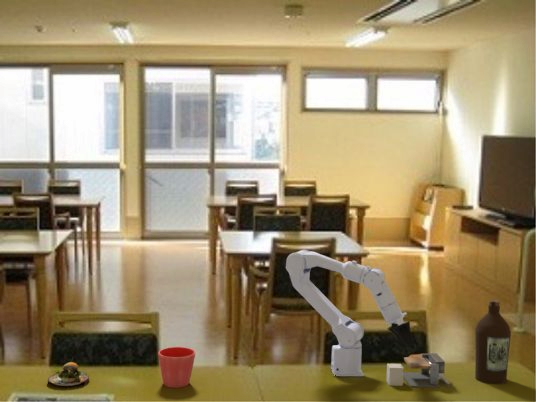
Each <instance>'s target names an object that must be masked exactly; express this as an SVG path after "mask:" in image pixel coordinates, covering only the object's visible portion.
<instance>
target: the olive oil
mask: <svg viewBox="0 0 536 402" xmlns="http://www.w3.org/2000/svg"><path fill="white" fill-rule="evenodd" d="M488 303H489V304H488V306H487V307H488V308H487V309H488V310H487V311H488V312H486V314H485V315H484V316H483V317H482V318H480V320H478V322H477V324H476V326H475V329H474V330H475V333H474V336H475V337H474V339H475V344H474V345H475V347H474V348H475V366H474V367H475V369H474V371H475V379H476V380H477V381H479V382H482V383H484V384H490V385H503V384H505V383H506V382H507V381H508V367H509V358H510V357H509V356H510V346H511V345H510V344H511V336H512V335H511V334H512V331H511V328H510V325H509V323H508V322H507V321H506V320H505V318H504V317H503V316H502V314H501V312H500V308H501V306H500V303H501V302H500V301H499V300H496V299H495V300H493V299H491V300H489V301H488Z"/></svg>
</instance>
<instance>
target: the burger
mask: <svg viewBox="0 0 536 402" xmlns="http://www.w3.org/2000/svg"><path fill="white" fill-rule="evenodd" d="M71 358H72V359H71V360H73V356H72V357H71ZM89 382H90V376H89V374H88V373H86V372H82V371H81V370H79V365H78V364H77V363H76V362H73V361H70V362H67V363H65V364H64V365H63V366H62V370H61V371H59V370H57V371H56V370H55V373H54V374H52V375H50V376H49V377H48V378H47V383H48V384H49V383H51V384H53V385H56V386H61V387H69V386H76V385H80V384H82V383H83V385H84V386H87V384H89Z"/></svg>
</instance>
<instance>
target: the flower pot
mask: <svg viewBox="0 0 536 402" xmlns="http://www.w3.org/2000/svg"><path fill="white" fill-rule="evenodd" d="M157 356H158V361H159V367H160V372H161V377H162V383H163V385H164V386H165V387H168V388H182V387H186V386H188V385H189V384H190V382H191V378H192V374H193V373H192V372H193V368H194V363H195V362H194V361H195V359H196V358H195V357H196V351H195V350H194V349H192V348H190V347H183V346H173V347H166V348H162V349H160V350H159V351H158V355H157Z"/></svg>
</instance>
